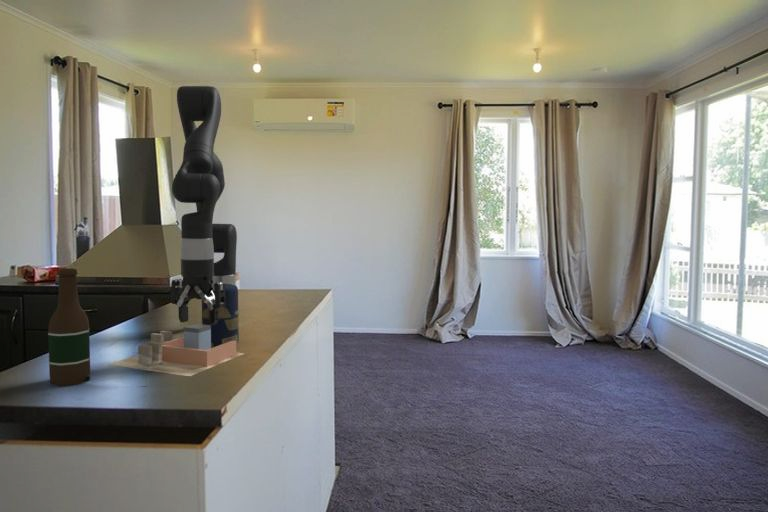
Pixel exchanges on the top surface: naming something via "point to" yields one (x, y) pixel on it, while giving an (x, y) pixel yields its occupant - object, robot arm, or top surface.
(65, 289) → the beer bottle
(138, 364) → the board
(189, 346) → the grey block
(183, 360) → the tray
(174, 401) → the top surface
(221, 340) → the canister
